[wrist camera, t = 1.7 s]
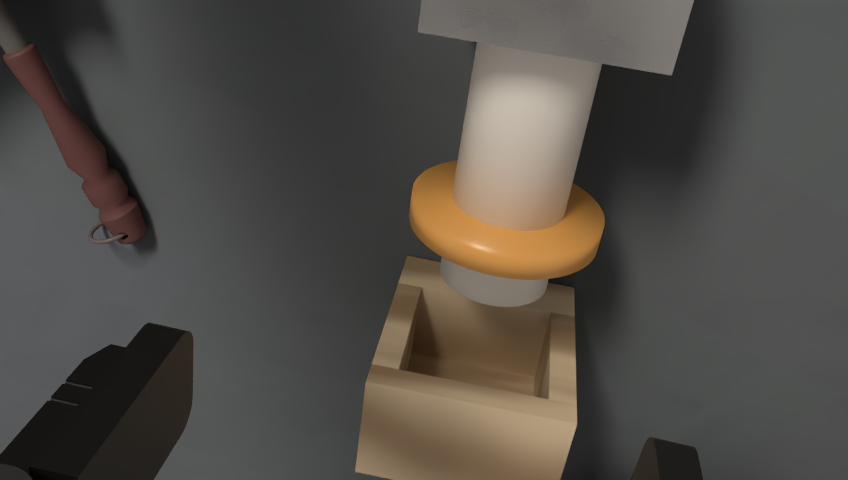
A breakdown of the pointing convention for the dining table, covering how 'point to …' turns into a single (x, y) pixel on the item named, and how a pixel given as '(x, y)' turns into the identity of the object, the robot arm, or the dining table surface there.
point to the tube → (513, 180)
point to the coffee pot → (73, 138)
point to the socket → (469, 385)
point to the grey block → (569, 28)
